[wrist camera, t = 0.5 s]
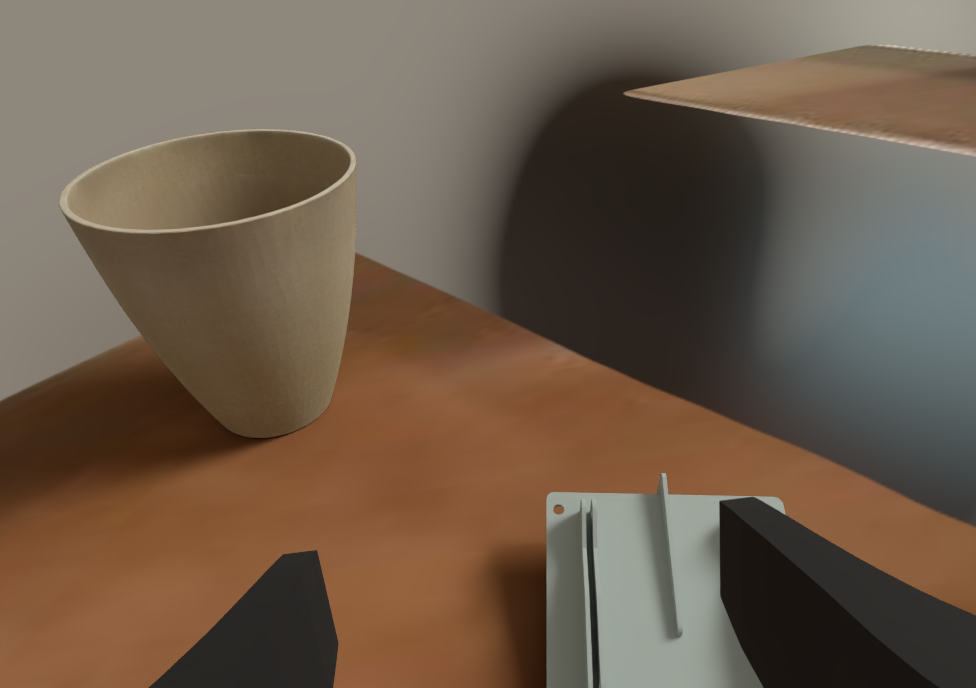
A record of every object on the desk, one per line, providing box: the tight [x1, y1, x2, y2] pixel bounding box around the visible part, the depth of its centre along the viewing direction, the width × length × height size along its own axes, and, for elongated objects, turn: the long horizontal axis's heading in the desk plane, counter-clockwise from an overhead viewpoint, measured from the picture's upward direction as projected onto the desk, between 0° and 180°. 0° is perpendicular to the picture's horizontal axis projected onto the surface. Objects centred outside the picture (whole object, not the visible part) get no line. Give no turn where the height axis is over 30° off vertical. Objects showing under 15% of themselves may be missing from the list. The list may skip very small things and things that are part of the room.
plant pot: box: [59, 129, 356, 438], centre depth 41 cm, size 15×15×16 cm
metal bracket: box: [547, 473, 786, 688], centre depth 29 cm, size 14×6×15 cm
